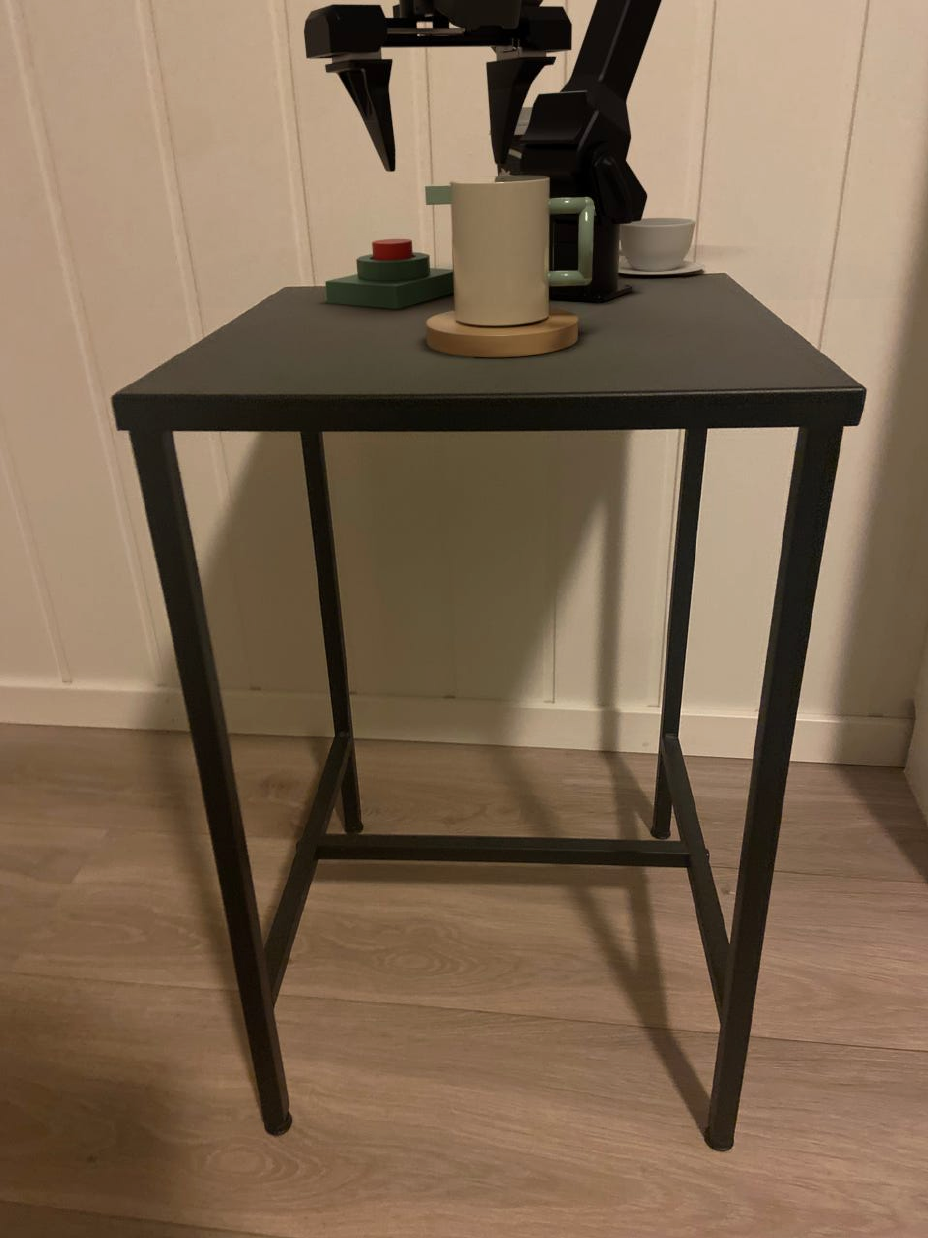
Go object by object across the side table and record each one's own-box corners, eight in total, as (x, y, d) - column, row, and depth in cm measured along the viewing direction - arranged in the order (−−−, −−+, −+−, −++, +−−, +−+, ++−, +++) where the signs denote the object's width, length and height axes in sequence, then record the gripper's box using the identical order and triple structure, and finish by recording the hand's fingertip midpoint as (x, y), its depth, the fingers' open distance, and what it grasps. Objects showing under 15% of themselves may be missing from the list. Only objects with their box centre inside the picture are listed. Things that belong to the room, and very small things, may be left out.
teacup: (715, 265, 96) (719, 216, 94) (690, 281, 88) (694, 227, 86) (621, 263, 100) (623, 215, 98) (590, 277, 92) (591, 226, 90)
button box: (394, 286, 92) (391, 248, 90) (461, 290, 88) (460, 251, 86) (327, 302, 85) (323, 262, 83) (397, 309, 81) (394, 266, 79)
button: (389, 257, 87) (388, 237, 86) (420, 259, 85) (419, 239, 85) (365, 263, 85) (363, 242, 84) (397, 265, 83) (395, 243, 82)
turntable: (479, 320, 75) (479, 301, 74) (603, 332, 69) (604, 311, 69) (396, 348, 67) (395, 327, 66) (529, 363, 62) (529, 340, 61)
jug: (428, 327, 65) (420, 184, 61) (437, 309, 71) (431, 178, 67) (593, 323, 64) (597, 178, 60) (588, 305, 70) (592, 172, 66)
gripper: (348, -124, 53) (371, 179, 60) (620, -107, 60) (611, 163, 68) (289, -87, 62) (315, 174, 69) (532, -76, 69) (532, 160, 76)
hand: (446, 167), depth 70 cm, fingers open, 9 cm apart
